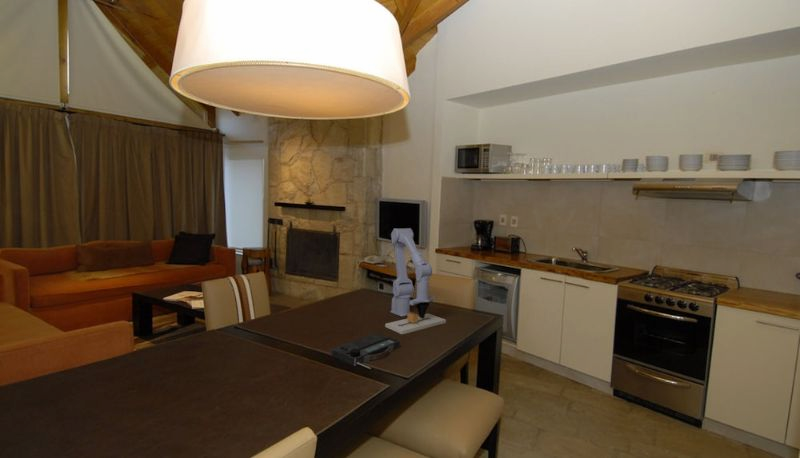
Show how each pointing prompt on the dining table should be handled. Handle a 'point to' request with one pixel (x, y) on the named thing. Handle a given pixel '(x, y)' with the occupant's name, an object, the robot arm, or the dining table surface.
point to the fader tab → (412, 317)
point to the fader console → (415, 324)
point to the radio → (365, 349)
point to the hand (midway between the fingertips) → (421, 317)
